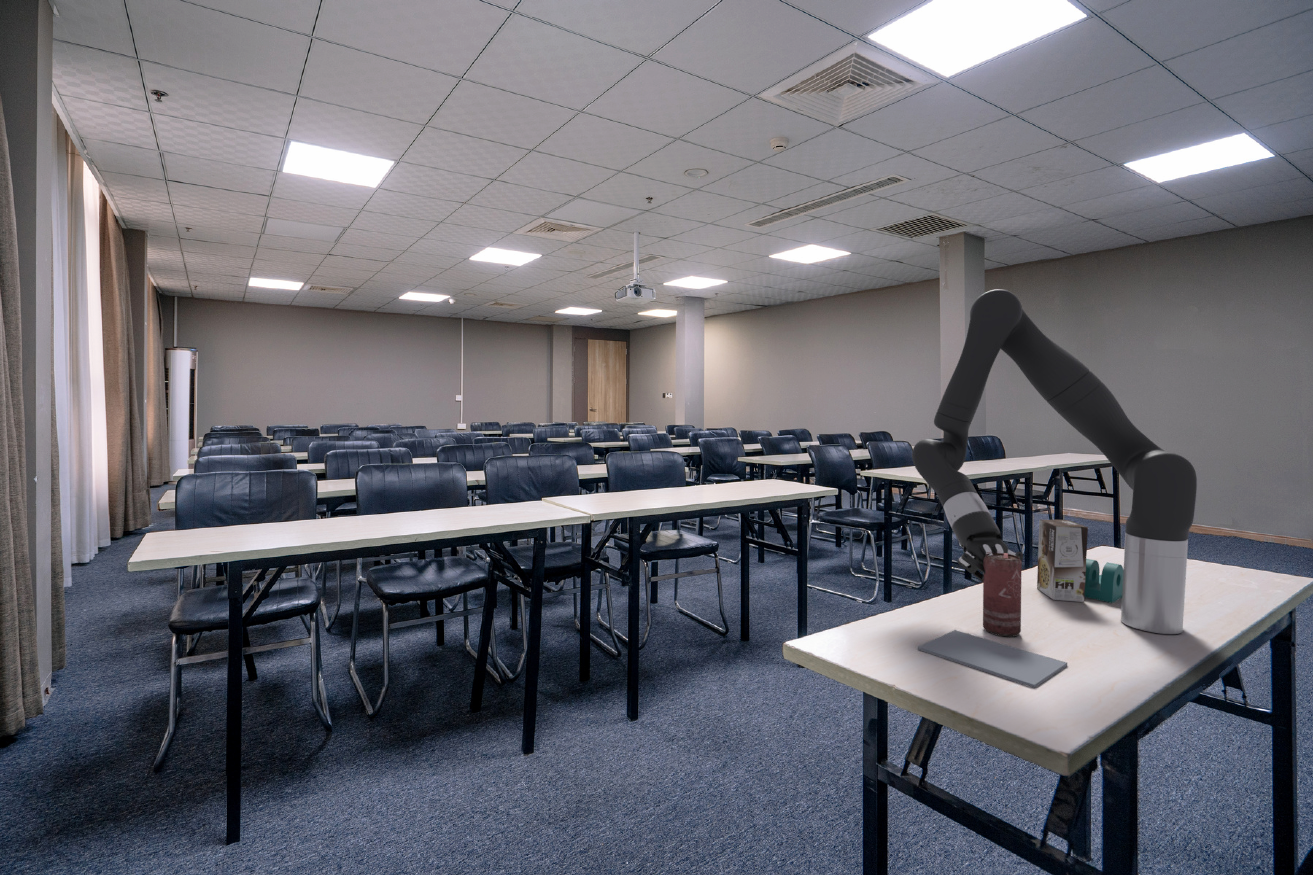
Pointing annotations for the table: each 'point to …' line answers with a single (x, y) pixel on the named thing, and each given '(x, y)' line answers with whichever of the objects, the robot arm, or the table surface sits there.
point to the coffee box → (1062, 559)
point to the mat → (994, 658)
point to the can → (1002, 594)
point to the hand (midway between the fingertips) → (1012, 600)
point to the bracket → (1103, 581)
